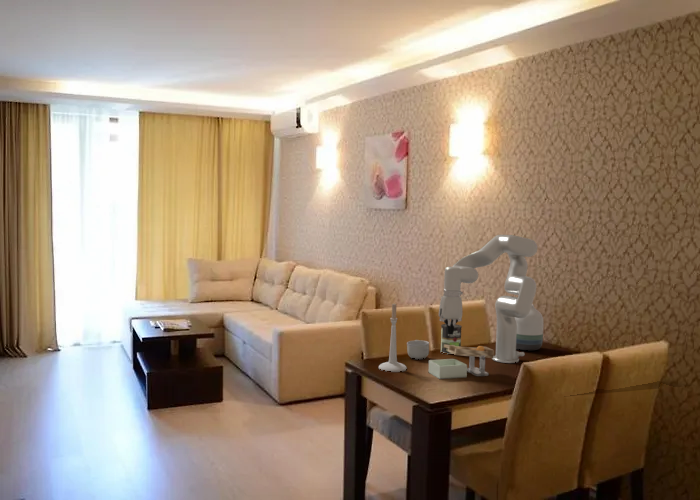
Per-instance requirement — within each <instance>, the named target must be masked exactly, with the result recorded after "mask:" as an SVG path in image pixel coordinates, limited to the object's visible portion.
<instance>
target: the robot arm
mask: <svg viewBox="0 0 700 500" xmlns="http://www.w3.org/2000/svg"><path fill="white" fill-rule="evenodd" d="M537 252H538V244H537V243H536V241H535V240H534V239H531V238H528V237H522V236H518V235H515V234H514V235H513V234H497V235H495V236H494V237H492V238H491V239H490V240H489V241H487V243H486V244H484V245H483V247H481V248H480V249H479V250H476V251H474V252H471V253H470V254H467V255H466V256H463V257H462V258H460V259H459V260H458V261H457V262H456V263H454V264H453V266H446V267H445V269H444V276H443V277H444V279H443V295H442V296H441V297H440V298H441V299H440V301H439V308H438V309H439V310H438V317H439V321H440V322H443V323H444V324H446V325H447V327H446V332H447V334H449V335H451V334H452V335H453V332H454V326H455V324H458V322H462V318H463V300H462V297H461V295H463V294H464V293H463V292H464V291H462V290H461V286H462V284H463V283H464V284H473V283H475V282H477V280H478V278H479V272H478V270H477V269H478V268H483V267H487V266H489V265H492V264H493V263H494V262H495V261H496V260H498V259H499V257H500V256H502V255H503V254H504V253H506V254H507V256H508V259H509V268H508V272H507V275H506V279H505V281H504V285H503V286H504V291H505V292H506V293H507V294H510V295H501V296H499V297H498V298H497V299H496V300H495V305H494V307H495V315H496V335H495V336H496V337H495V338H496V339H495V354H494V356H493V358H491V359H492V360H493V361H494V362H498V363H502V364H505V363H506V364H515V362H516V363H519V361H520V358H519V357H524V356H525V351H521V352H519V351H517V349H516V334H517V323H516V320H515V317H516V318H525V317H526V316H527V315H528V314H529V312H530V310H531V306H532V304H533V302H534V299H535V297H536V293H537V283H536V281H535V279H534V278H533V277H531V276H527V273H528V265H529V264H528V261H527V258H530V257H534V256H535V255H536V254H537ZM526 257H527V258H526ZM476 268H477V269H476ZM511 295H515V296H511ZM516 296H517V297H516Z"/></svg>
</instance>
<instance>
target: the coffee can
mask: <svg viewBox="0 0 700 500" xmlns="http://www.w3.org/2000/svg"><path fill="white" fill-rule="evenodd" d="M440 326H441V335H440V338H441V339H440V353H441V352H443V353H447V354H446V355H448V354H452V353H450V352H448V348H446V347H444V344H446V345H454V346H459V347H462V346H461V345H462V327H463V326H462V325H460V324H458V323H456V324H455V326H454V332H453V335H452V334H451V335H449V334H447V332H446V327H447V325H446V324H445V323H444V324H443V323H442V324H441V325H440ZM443 353H442V354H443Z"/></svg>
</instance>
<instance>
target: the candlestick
mask: <svg viewBox="0 0 700 500" xmlns="http://www.w3.org/2000/svg"><path fill="white" fill-rule="evenodd" d="M389 319H390V323H391V327H390V328H391V331H390V332H391V333H390V345H389V357H388V361H386V362H382V363H380V364H379V365H378V369H379V370H380V369H381V370H380V371H383V370H385V371H384V372H387V371H391V372H390V373H400V371H402V372H406V371H407V370H408V368H407V366H406V365H405V364H404V363H401V362H398V358H397V354H398V353H397V327H396V325H397V323H398V321H397V320H398V318H397V303H391V317H390V318H389ZM406 369H407V370H406Z"/></svg>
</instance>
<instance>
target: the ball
mask: <svg viewBox="0 0 700 500" xmlns="http://www.w3.org/2000/svg"><path fill="white" fill-rule="evenodd" d="M484 347H485V346H483V345H478V346H477V347H476V348H477V351H484V350H485V349H484Z"/></svg>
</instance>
